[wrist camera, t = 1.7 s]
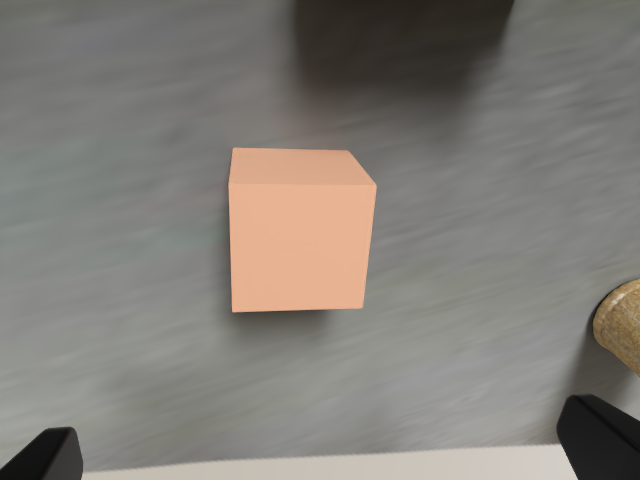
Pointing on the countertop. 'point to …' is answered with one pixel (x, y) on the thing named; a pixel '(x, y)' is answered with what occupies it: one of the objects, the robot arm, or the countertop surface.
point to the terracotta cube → (298, 229)
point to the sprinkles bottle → (621, 324)
